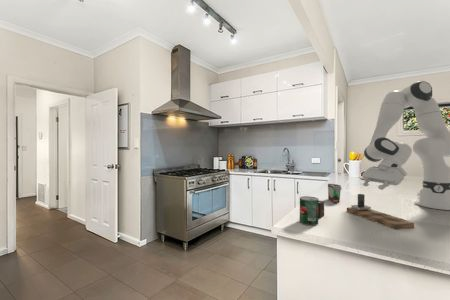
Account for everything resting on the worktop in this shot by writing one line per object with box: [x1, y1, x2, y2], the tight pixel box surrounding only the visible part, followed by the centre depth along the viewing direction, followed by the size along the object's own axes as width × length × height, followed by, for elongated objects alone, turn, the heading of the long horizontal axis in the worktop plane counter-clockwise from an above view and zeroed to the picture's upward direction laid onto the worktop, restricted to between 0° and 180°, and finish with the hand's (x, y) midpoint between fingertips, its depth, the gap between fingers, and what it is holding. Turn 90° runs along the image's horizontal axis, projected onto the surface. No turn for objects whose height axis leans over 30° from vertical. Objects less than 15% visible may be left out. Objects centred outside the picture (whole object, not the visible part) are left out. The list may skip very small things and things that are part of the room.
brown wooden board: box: [346, 206, 415, 230], centre depth 104 cm, size 26×10×2 cm, turn 13°
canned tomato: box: [299, 195, 320, 227], centre depth 99 cm, size 8×8×11 cm
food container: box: [327, 183, 343, 204], centre depth 137 cm, size 12×6×10 cm, turn 171°
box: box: [318, 199, 325, 219], centre depth 108 cm, size 6×6×7 cm
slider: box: [350, 193, 372, 210], centre depth 113 cm, size 5×7×7 cm
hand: (372, 187), depth 116 cm, fingers open, 8 cm apart
